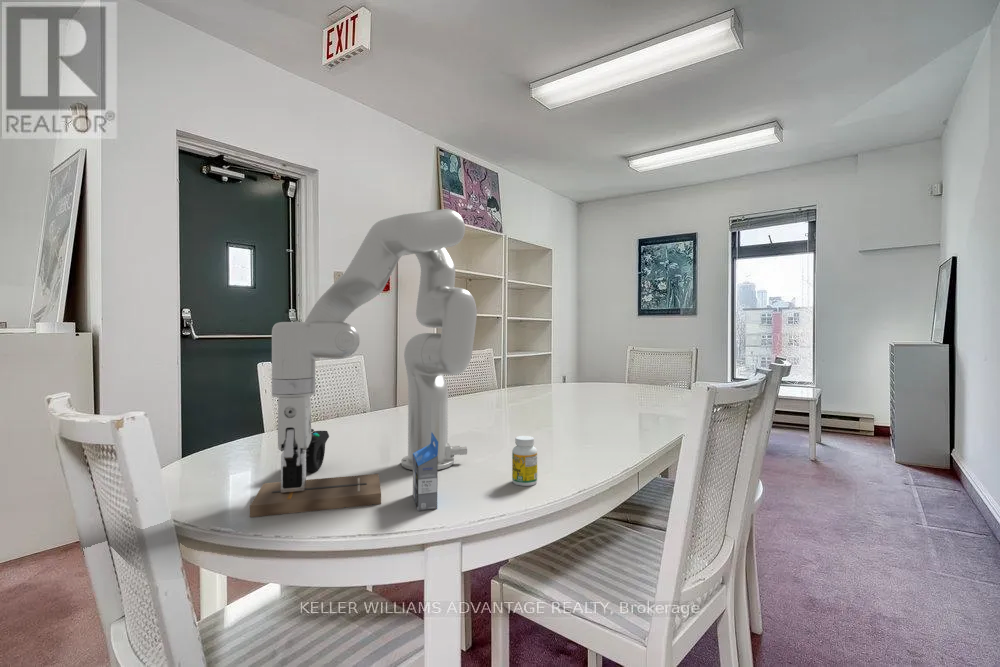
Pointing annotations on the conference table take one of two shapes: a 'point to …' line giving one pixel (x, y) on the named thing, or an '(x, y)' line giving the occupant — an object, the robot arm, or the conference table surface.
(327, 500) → the fader console
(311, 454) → the controller
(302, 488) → the fader tab
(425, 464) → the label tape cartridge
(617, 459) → the conference table surface
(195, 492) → the conference table surface
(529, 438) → the supplement bottle
